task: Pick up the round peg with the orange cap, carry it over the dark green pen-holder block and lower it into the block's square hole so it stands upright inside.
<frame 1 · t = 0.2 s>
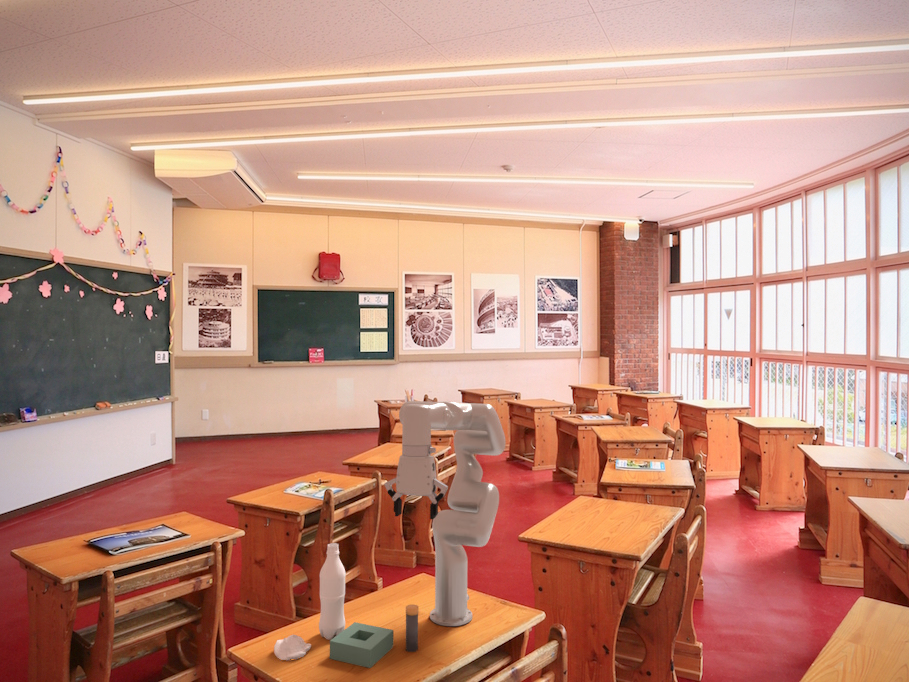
hand: (415, 516, 160), 36 cm above the table, tool pointing down, fingers open, 9 cm apart
round peg: (411, 649, 162), on the table
water bottle: (332, 636, 170), on the table
rose: (292, 653, 160), on the table
socket block: (362, 652, 160), on the table
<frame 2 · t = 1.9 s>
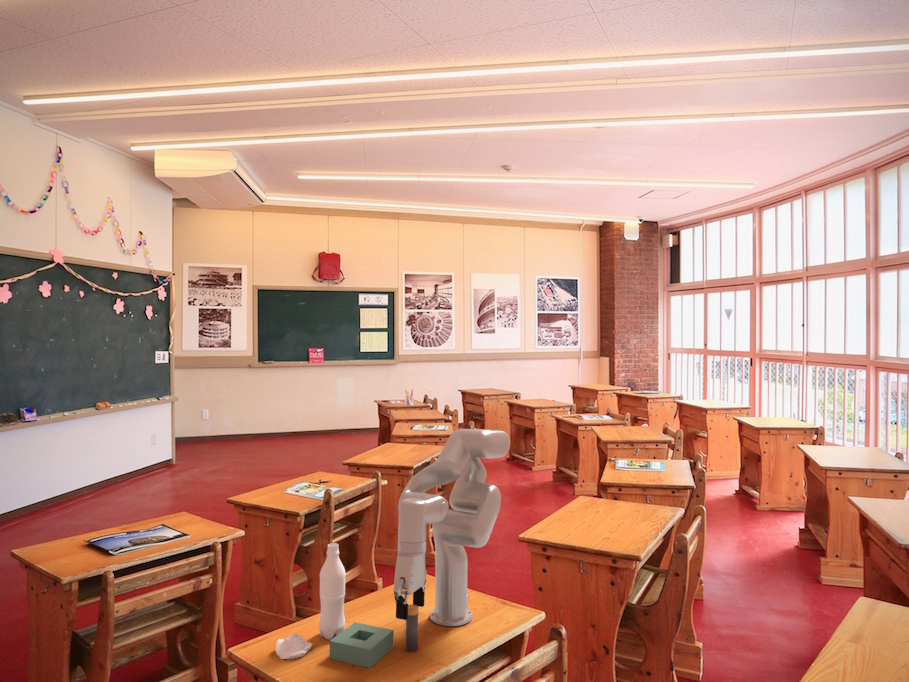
hand: (410, 612, 162), 10 cm above the table, tool pointing down, fingers open, 9 cm apart
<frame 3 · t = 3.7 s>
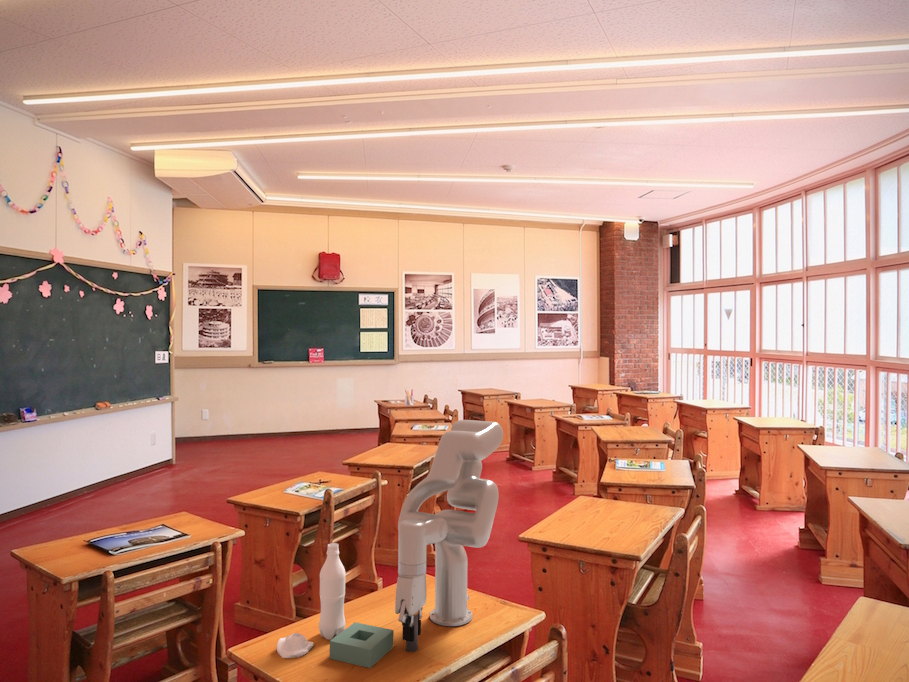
hand: (411, 636, 162), 3 cm above the table, tool pointing down, fingers closed on round peg, 3 cm apart
round peg: (411, 649, 162), on the table, touching gripper
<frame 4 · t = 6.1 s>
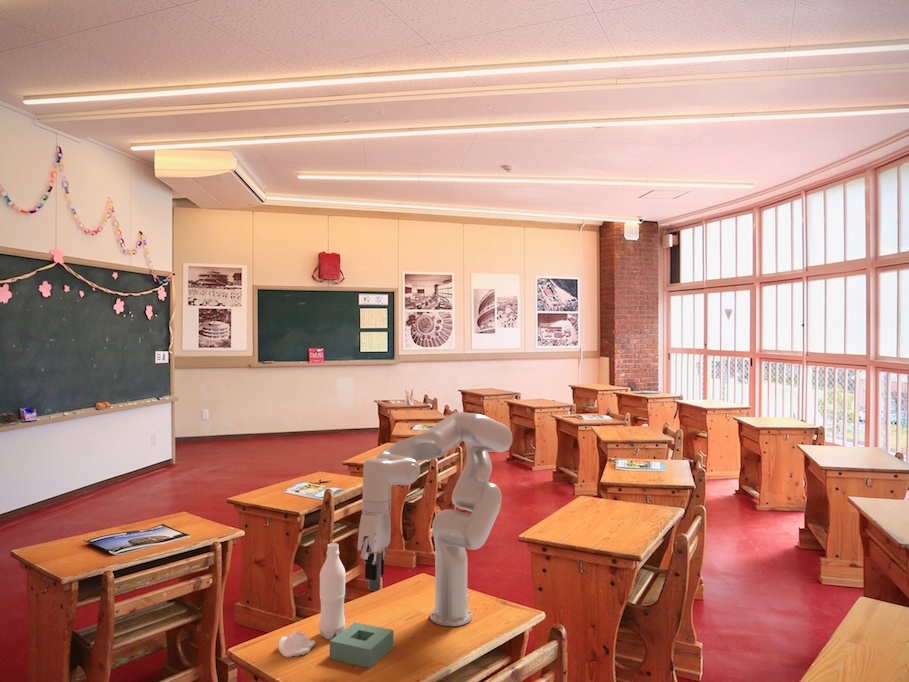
hand: (374, 576, 161), 20 cm above the table, tool pointing down, fingers closed on round peg, 3 cm apart
round peg: (374, 588, 160), point 17 cm above the table, touching gripper
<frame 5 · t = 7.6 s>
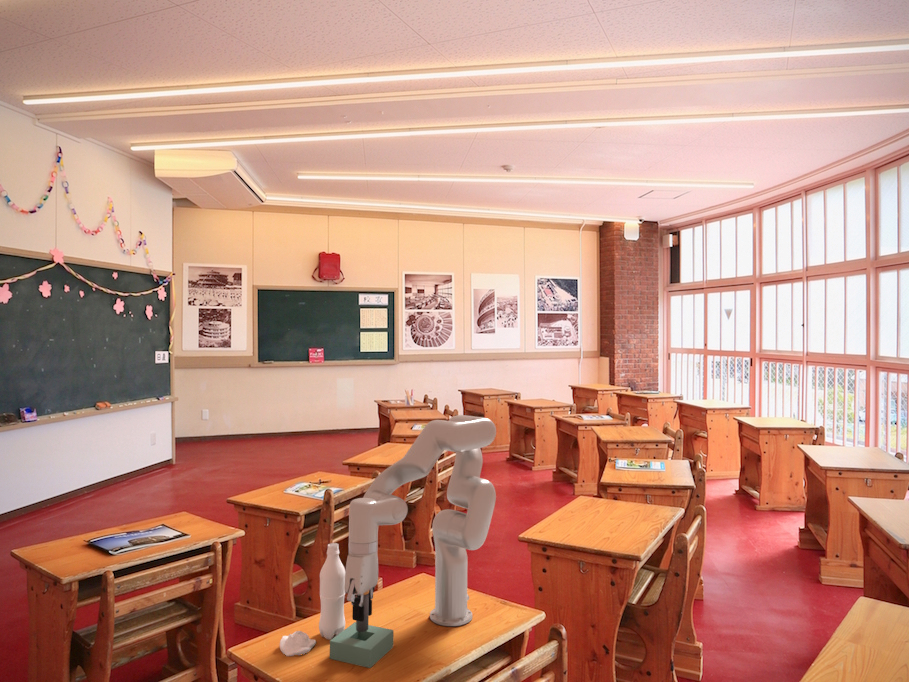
hand: (362, 616, 160), 9 cm above the table, tool pointing down, fingers closed on round peg, 3 cm apart
round peg: (362, 629, 160), point 6 cm above the table, touching gripper
when the fingers open (6 cm above the table, at t = 8.6 s): round peg drops 3 cm, resting in socket block.
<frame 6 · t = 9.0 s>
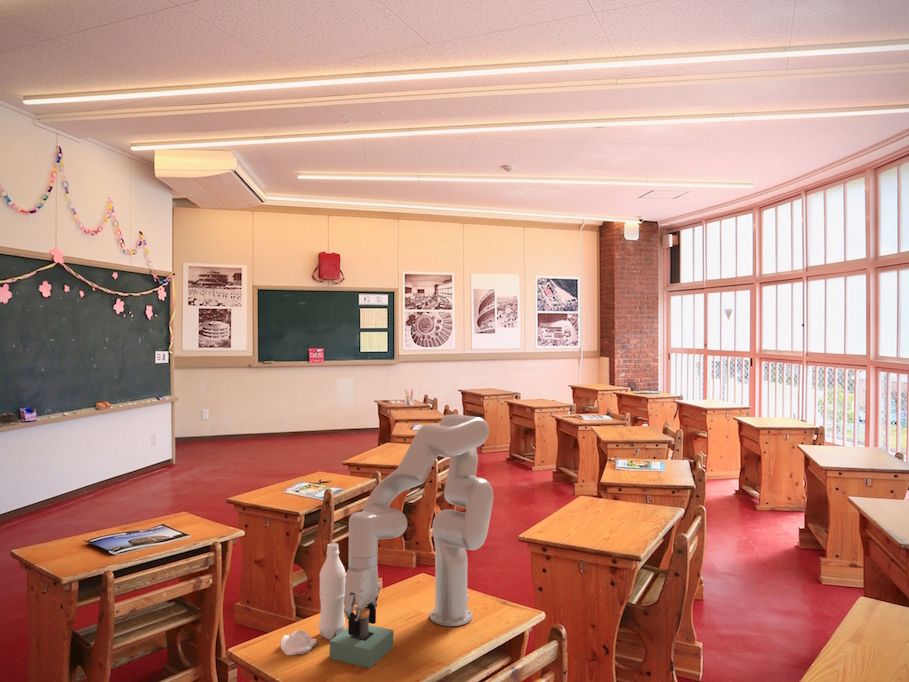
hand: (362, 628, 160), 6 cm above the table, tool pointing down, fingers open, 7 cm apart
round peg: (362, 652, 160), resting in socket block
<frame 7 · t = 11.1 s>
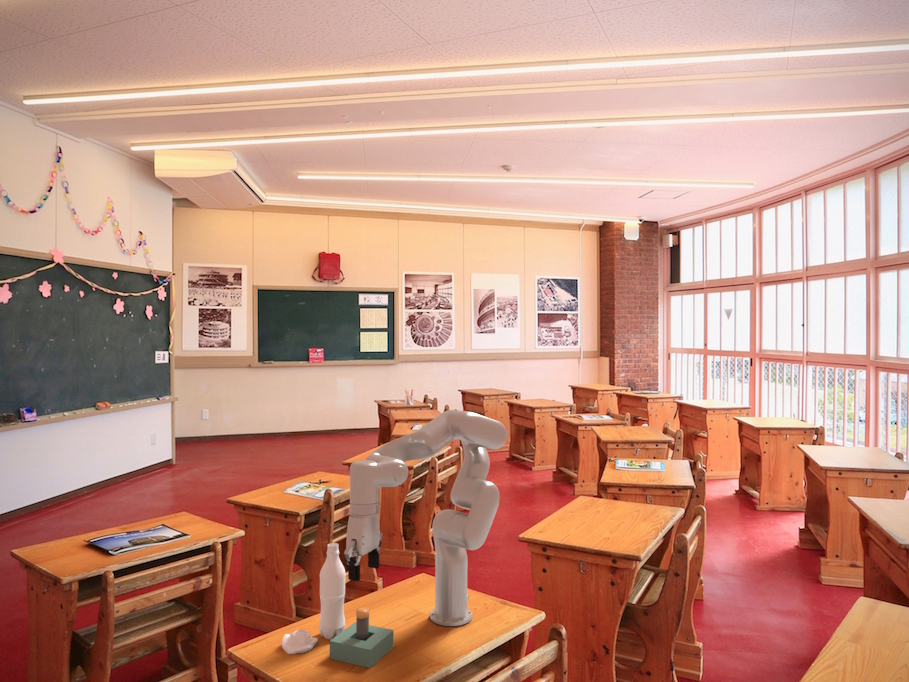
hand: (364, 573, 161), 20 cm above the table, tool pointing down, fingers open, 9 cm apart
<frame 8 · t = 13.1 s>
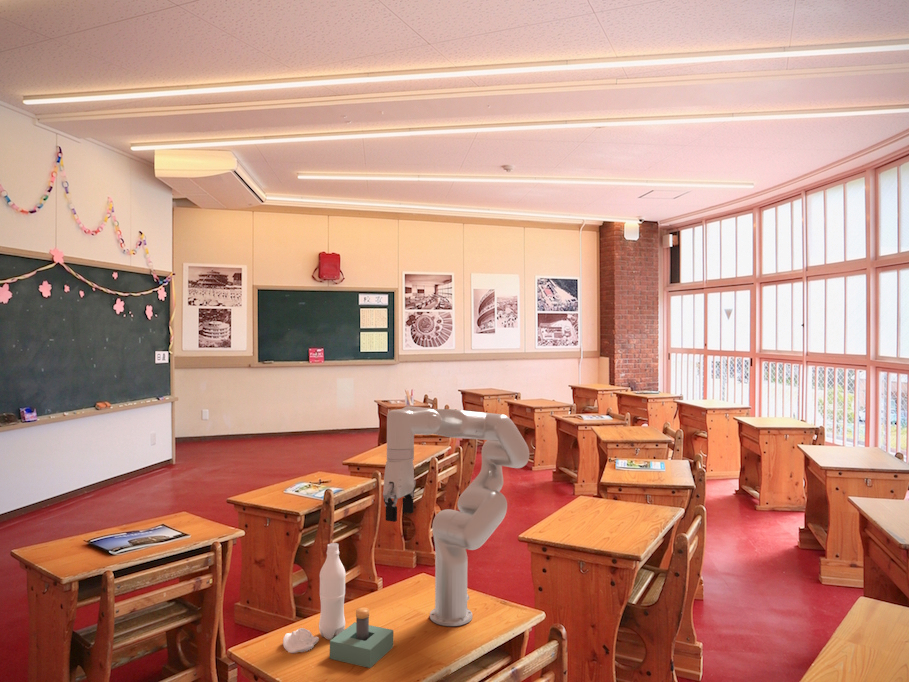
hand: (399, 516, 169), 33 cm above the table, tool pointing down, fingers open, 9 cm apart
at the end: round peg 0.1 cm from the socket block (horizontally); round peg resting in socket block; round peg tilted 0° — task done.
